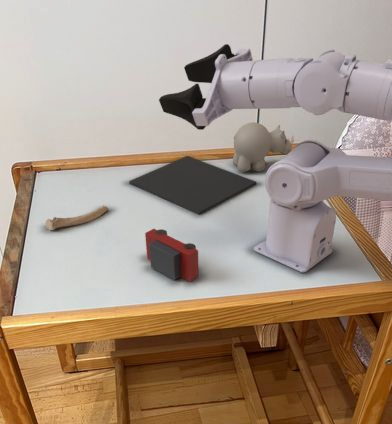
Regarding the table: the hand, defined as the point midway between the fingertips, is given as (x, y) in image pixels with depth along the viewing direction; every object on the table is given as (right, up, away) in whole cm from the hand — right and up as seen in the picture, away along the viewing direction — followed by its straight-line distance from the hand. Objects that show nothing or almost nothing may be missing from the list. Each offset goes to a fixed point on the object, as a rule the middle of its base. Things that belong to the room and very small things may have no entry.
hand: (175, 88), depth 76 cm
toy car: (-1, -26, +2) cm, 26 cm away
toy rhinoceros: (+16, -1, +29) cm, 33 cm away
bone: (-17, -16, +13) cm, 27 cm away
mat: (+2, -7, +23) cm, 24 cm away
